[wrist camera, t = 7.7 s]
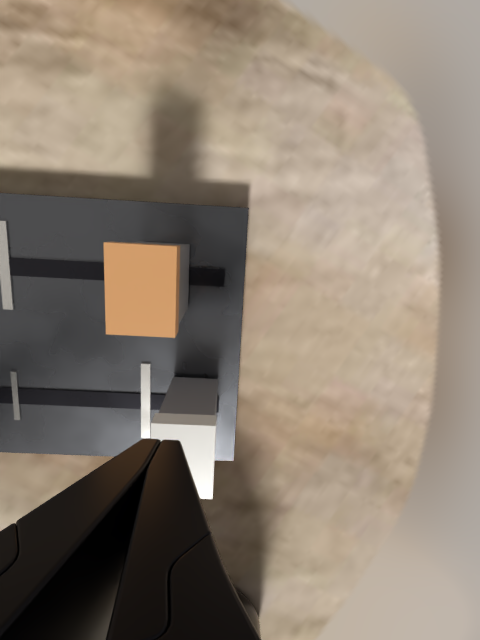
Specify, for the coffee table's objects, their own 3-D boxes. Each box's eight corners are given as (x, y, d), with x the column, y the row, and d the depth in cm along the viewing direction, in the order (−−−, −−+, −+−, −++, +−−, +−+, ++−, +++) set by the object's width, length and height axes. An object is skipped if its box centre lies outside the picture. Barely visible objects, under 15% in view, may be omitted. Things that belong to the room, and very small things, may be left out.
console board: (-71, 437, 22) (-90, 449, 21) (-108, 187, 19) (-132, 184, 18) (233, 449, 23) (233, 462, 22) (247, 209, 20) (248, 207, 18)
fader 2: (170, 432, 21) (150, 497, 16) (171, 375, 20) (150, 423, 15) (217, 434, 21) (212, 499, 16) (220, 377, 20) (215, 426, 15)
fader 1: (138, 307, 19) (105, 334, 14) (138, 239, 19) (103, 242, 13) (190, 310, 19) (175, 337, 14) (191, 242, 19) (176, 246, 14)
